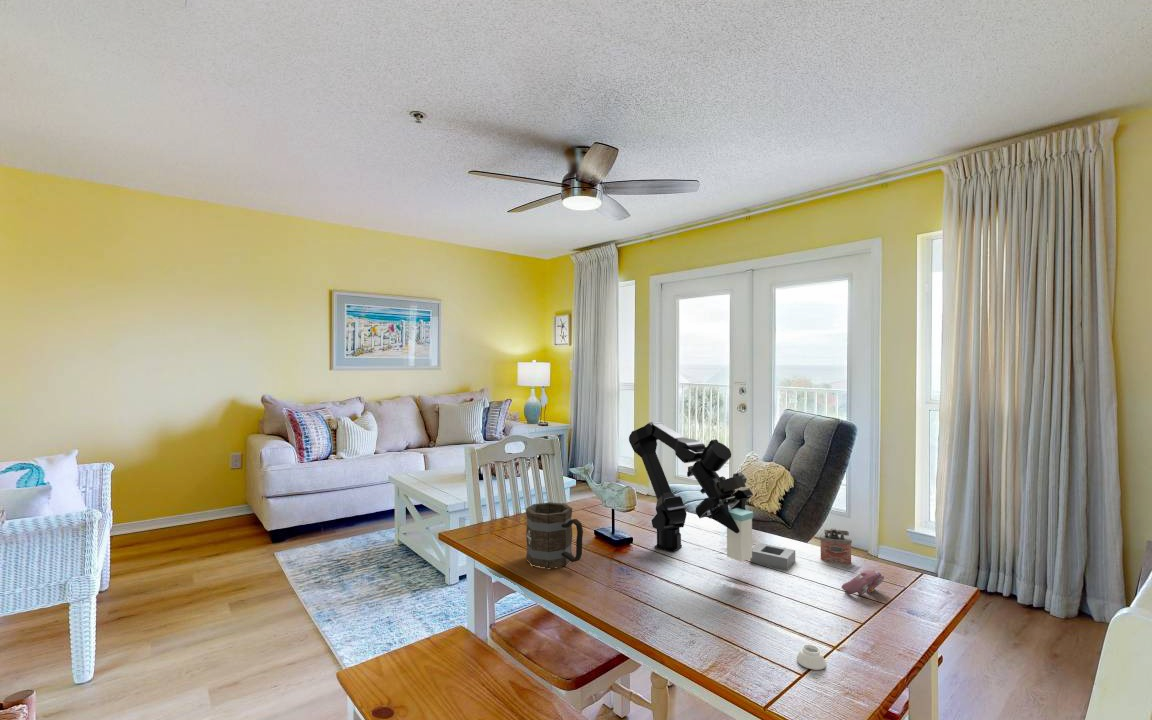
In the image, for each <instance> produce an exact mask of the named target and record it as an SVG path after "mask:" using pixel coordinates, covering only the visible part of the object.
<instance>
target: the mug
mask: <svg viewBox="0 0 1152 720" xmlns="http://www.w3.org/2000/svg"><path fill="white" fill-rule="evenodd" d="M525 511H526V513H525V514H526V532H525V533H526V534H525V537H526V556H525V557H526V558H525V560H526V559H527V560H528V561H529V562H530V563H531V564H532V565H535V566H540V567H545V568H555V567H560V568H563V567H562V566H566V565H567V564H568V563H569V562H570V561H571V562H572V563H575V562H579V561H580V560H581V558H582V555H583V538H584V536H583V534H584V530H583V529H584V528H583V525H582V522H581V521H580V520H579V519H578V518H574V519H573V518H572V516H573V507H572V506H571V505H568V504H567V503H561V502H553V501H551V502H550V501H549V502H542V503H540V502H539V503H533V504H531V505H530V506H528V507H526V508H525ZM573 524H574V525H575V527H576V533H577V534H576V539H575V540H576V541H575V542H576V543H575V544H576V546H575V549H576V551H575V556H574V555H573V552H572V550H573V549H572V545H573V543H572V541H573V527H572V526H573ZM571 562H570V563H571ZM570 563H569V564H570ZM569 564H568V565H569ZM568 565H567V566H568ZM567 566H566V567H567ZM555 569H556V568H555Z"/></svg>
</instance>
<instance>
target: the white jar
mask: <svg viewBox="0 0 1152 720" xmlns="http://www.w3.org/2000/svg"><path fill="white" fill-rule="evenodd" d="M796 662H798V664H799V665H800V666H802V667H804V668H806V669H809V670H815V671H819V670H823V669H825V668H826V666H827V663H826V660H825V658H824V656H823V654H822V651H821V649H820V648H819V647H818V646H816V645H814V644H810V643H809V644H808V643H806V644H803V645H802V647H801V648H800V650H799V651H798V654H797V655H796Z"/></svg>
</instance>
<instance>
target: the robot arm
mask: <svg viewBox="0 0 1152 720" xmlns="http://www.w3.org/2000/svg"><path fill="white" fill-rule="evenodd" d="M658 440H659V441H660V442H662V444H665V446H667V447H669V448H670V449H672V450H673V451H674V454H675V457H677V458H678V459H679V461H681V462H682V463H684V464H689V463H693V465H690V466H687V472H686V476H687V477H689V478H690V477H692V476H693V477H694V478H695V480H696V481H697V483H698V484H699V485H700V487H701V489H700V493H701V494H702V495H703V494H704V495H706V496H707V497H706V498H704V499H703V500H702V501H700V503H699V504H698V505H696V507H695V514H696V515H697V517H698V518H699V519H703V518H705V517H706V518H707V516H708V512H709V513H710V514H709V516H708V518H709V519H712V520H714V521H715V522H718V523H719V524H721V525H723V526H724V527H725V528H726V529H727V528H729V529H730V530H732V531H733V532H735V533H739V532H740V531H739V529H738V527H737V525H736V523H735V521H734V520H733V518H732V517H731V515H730V513H729V511H728V510H729V508H730V510H731V509H735V508H740V509H744V510H747V509H746V503H747V502H748V501H749V500H750V499H751V498H752V497H753V496H754V493H753V492H752V491H751V489H750V488H747V487H746V484H747V480H748V479H747V477H746V476H745V474H743V473H742V472H741V471H739V472H736V473H733V475H732V477H729V478H726V477H724V476H720V475H719V474H718V473H717V472H719V471H720V470H721V469H722V468H723V466H725V464H726V463H727V462H728V461H729V460H730V459H731V457H732V452H731V450H730V448H729V447H728V446H726V445H725V444H723V443H721V442H719V440H718V439H710V441H709V443H708V445H707V446H706V445H705V444H704V442H702V441H699V440H697V439H694V438H689V437H688V438H687V437H685V436H683V435H681V434H680V433H679V432H676V431H675V430H673V429H672V428H670V427H668V426H667V425H665V424H664V423H663V422H661V421H651V422H648V423H647V424H645V425H644V426H641V427H639V428H637V429H635V430H632V431H631V432H630V434H629V436H628V442H629V444H630V447H631V448H632V451H633V452H634V453H636V455H637V456H638V457H640V458H641V460H642V462H643V465H644V468H645V470H646V473H647V476H648V479H649V481H650V483H651V486H652V489H653V491H654V494H655V496H656V504H655V511H656V514H655V515H654V517H653V518H652V519H651V526H652V528H653V529H656V545H654V548H655V549H657V550H662V551H666V552H670V553H674V552H676V551H677V550H679V549H680V548H682V547H683V544H682V534H681V533H680V528H684V526H685V523H686V519H687V511H686V506H685V504H684V502H683V499H682V497H681V496H680V495H678V496H677V495H676V496H675V495H674V493H673V492H672V490H671V487H670V485H669V482H668V479H667V476H666V474H665V472H664V470H663V467H662V465H661V462H660V459H659V456H658V454H657V452H656V451H657V448H658V447H657V446H658V442H657V441H658ZM737 489H738V490H737Z"/></svg>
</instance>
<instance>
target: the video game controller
mask: <svg viewBox="0 0 1152 720" xmlns="http://www.w3.org/2000/svg"><path fill="white" fill-rule="evenodd" d="M884 580H885V576H883V575H882V573H880V572H879V571H877V570H876V569H874V570H869V569H868V570H863V571H861V573H860V574H858V575H856V576H854V577H853V578H852V579H851V580H849V581H847V582H845V583H843V584H842V586H841V589H842V590H844V592H845V594H846V595H852V594H856V593H857V594H859V596H863V595H865V593H866V592H867V593H872V592H874V590H875V589H876V588H877V587H878V586H879V585H880V584H882V583H883V581H884Z"/></svg>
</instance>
